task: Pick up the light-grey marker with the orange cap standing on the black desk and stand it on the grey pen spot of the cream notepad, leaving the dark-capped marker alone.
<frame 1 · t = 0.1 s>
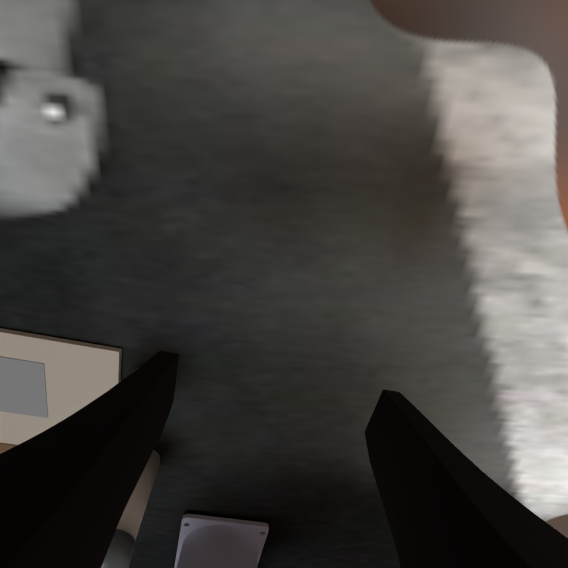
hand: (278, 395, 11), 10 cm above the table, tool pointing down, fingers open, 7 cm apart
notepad: (30, 400, 23), on the table
dark cap marker: (143, 458, 25), on the table
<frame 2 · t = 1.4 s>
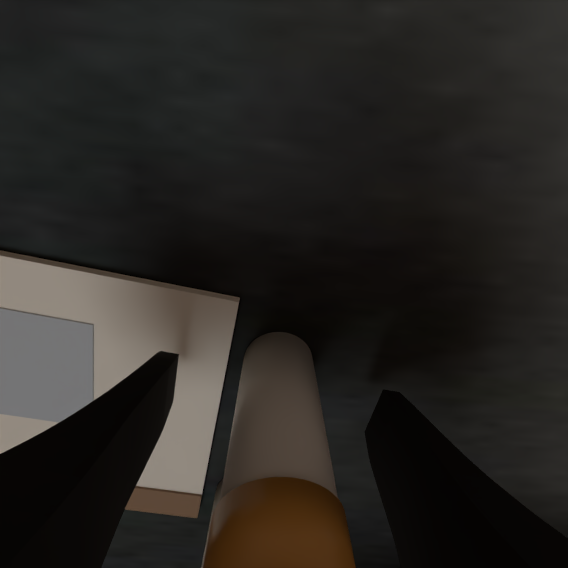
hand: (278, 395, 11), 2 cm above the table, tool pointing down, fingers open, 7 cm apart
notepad: (61, 395, 13), on the table
orange cap marker: (278, 361, 12), on the table
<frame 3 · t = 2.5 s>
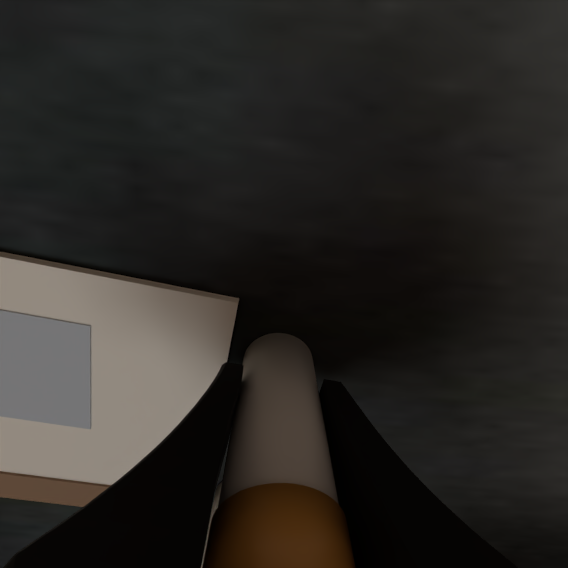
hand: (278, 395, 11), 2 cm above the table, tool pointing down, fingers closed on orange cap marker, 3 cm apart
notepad: (58, 396, 13), on the table
orange cap marker: (277, 363, 12), on the table, touching gripper
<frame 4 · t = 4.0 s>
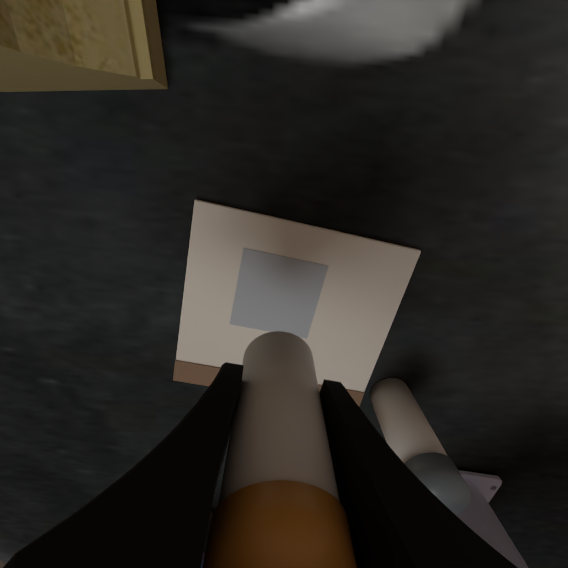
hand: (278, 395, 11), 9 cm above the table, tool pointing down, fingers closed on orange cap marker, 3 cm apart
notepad: (287, 317, 20), on the table
dark cap marker: (388, 393, 22), on the table
orange cap marker: (278, 361, 12), point 7 cm above the table, touching gripper
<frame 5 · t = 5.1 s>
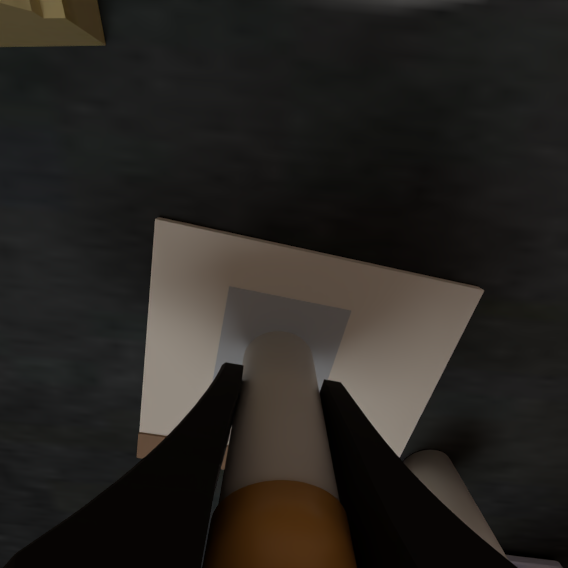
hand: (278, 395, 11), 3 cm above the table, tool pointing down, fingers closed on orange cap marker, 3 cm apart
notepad: (292, 376, 14), on the table
dark cap marker: (425, 468, 17), on the table
orange cap marker: (278, 361, 12), point 1 cm above the table, touching gripper
when the fingers open (3 cm above the table, at t = 5.7 s): orange cap marker stays where it is, resting on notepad.
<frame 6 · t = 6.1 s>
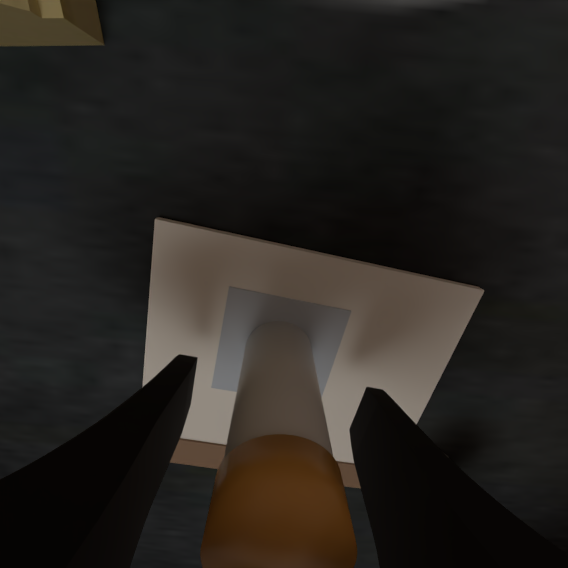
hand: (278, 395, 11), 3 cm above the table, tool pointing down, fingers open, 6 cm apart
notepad: (292, 376, 14), on the table
orange cap marker: (278, 351, 13), point 1 cm above the table, touching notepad
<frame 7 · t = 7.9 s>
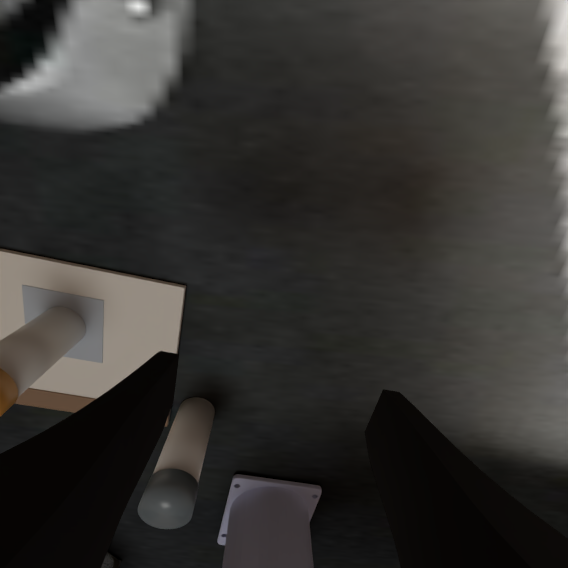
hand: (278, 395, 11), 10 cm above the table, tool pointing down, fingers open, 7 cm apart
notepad: (83, 343, 22), on the table
dark cap marker: (197, 411, 24), on the table
orange cap marker: (64, 325, 21), resting on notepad
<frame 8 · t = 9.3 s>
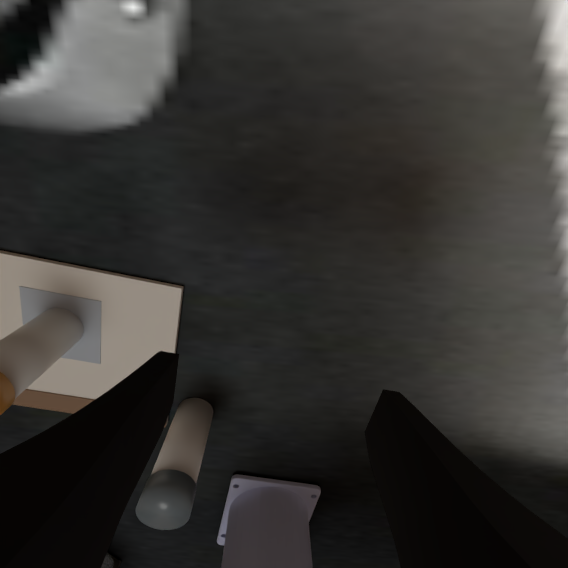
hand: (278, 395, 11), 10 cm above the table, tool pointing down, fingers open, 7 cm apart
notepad: (81, 344, 22), on the table
dark cap marker: (195, 411, 24), on the table
orange cap marker: (62, 326, 21), resting on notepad
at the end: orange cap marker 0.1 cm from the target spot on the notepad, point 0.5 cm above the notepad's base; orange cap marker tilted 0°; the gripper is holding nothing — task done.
